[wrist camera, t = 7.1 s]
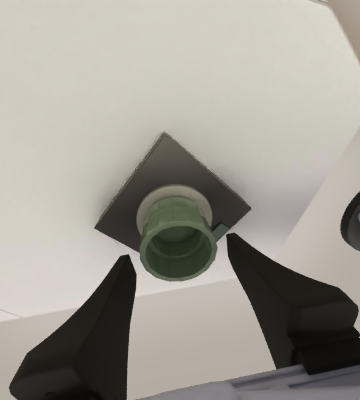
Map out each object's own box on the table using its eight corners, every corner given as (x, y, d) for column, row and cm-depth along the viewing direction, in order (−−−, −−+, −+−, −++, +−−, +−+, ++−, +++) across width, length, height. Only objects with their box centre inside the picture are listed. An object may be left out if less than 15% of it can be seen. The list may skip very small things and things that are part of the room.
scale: (243, 199, 21) (254, 211, 18) (179, 261, 24) (181, 279, 21) (164, 132, 17) (165, 135, 14) (100, 216, 20) (91, 232, 17)
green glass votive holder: (215, 222, 18) (231, 254, 14) (171, 254, 19) (174, 291, 15) (178, 181, 16) (184, 205, 12) (131, 220, 17) (123, 253, 13)
